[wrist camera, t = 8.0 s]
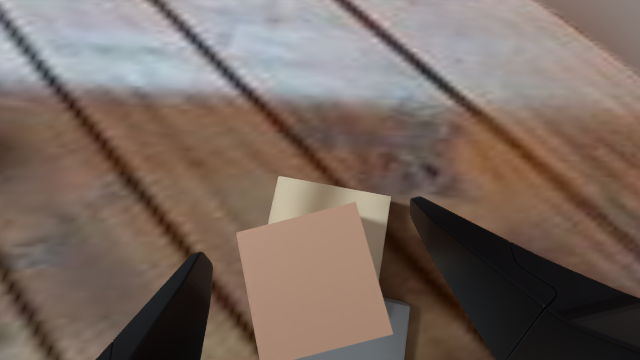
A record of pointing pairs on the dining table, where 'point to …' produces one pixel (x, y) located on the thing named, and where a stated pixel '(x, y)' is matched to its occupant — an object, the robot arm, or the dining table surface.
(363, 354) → the slate tile
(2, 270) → the dining table surface
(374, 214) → the beech pedestal
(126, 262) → the dining table surface
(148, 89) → the dining table surface
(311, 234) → the tall terracotta brick
